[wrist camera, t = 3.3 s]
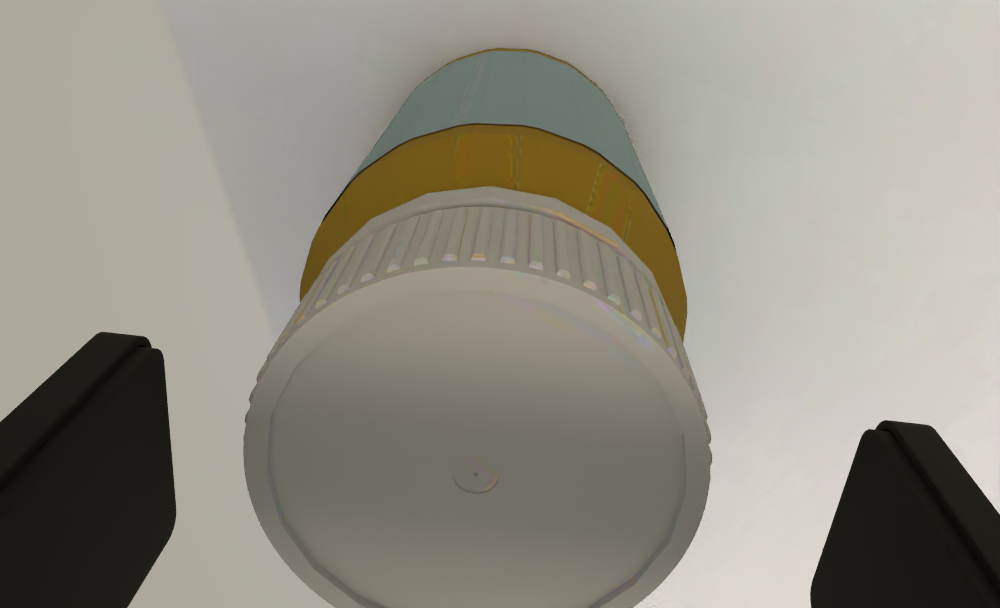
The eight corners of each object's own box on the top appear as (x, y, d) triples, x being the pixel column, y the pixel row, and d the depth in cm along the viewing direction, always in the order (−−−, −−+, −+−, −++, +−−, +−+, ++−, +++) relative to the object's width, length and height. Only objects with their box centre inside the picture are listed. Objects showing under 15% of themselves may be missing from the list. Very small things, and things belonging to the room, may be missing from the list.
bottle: (651, 245, 25) (786, 627, 12) (433, 300, 26) (323, 709, 13) (597, 12, 22) (690, 156, 9) (356, 85, 24) (111, 312, 10)
